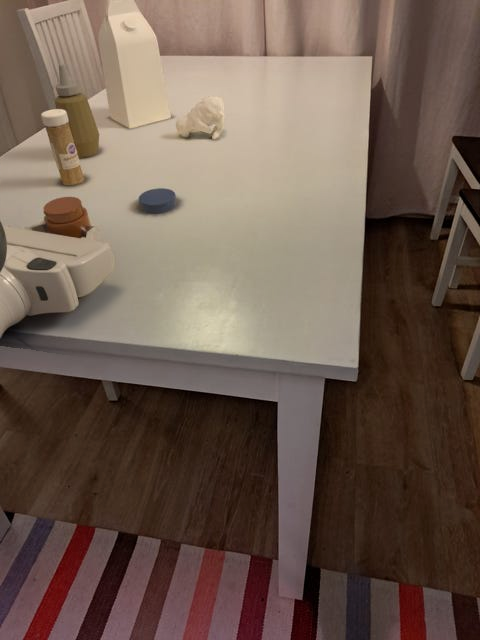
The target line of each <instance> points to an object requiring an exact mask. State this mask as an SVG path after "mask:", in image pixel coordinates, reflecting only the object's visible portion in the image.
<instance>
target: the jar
mask: <svg viewBox="0 0 480 640" xmlns="http://www.w3.org/2000/svg"><path fill="white" fill-rule="evenodd" d="M42 209H43V215H44V216H43V220H44V221H45V224H46V227H47V230H48V233H50V234H56V235H62V236H68V237H74V238H82V237H85V235H84V233H83V230H84V229H85V228H87V226H92V224H91V223H92V222H91V220H90V216H89V213H88V210H87V208H86V207H84V206H83V203H82V200H81V199H80V198H79V197H75V196H62V197H57V198H55V199H52V200H50V201H48V202H47V203H45V204H44V206H43V208H42Z"/></svg>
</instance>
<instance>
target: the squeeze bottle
mask: <svg viewBox="0 0 480 640" xmlns="http://www.w3.org/2000/svg"><path fill="white" fill-rule="evenodd" d="M58 74H59V83H58V84H55V90H56V94H57V95H58V96H56V97H55V100H54V105H55V109H63V110H65V111H66V113H67V116H68V120H69V121H68V122H69V127H70V130H71V134H72V137H73V141H74V144H75V148H76V150H77V154H78V158H79V159H84V158H89V157H93V156H95V155H97V154H98V152H99V145H100V133H99V129H98V127H97V123H96V120H95V118H94V114H93V112H92V108H91V106H90V103H89V100H88V97H87V95H85V94H84V93H82V92H81V88H80V84H79V83H78V82H76V81H74V80H73V79H72V77H71V75H70V72H69V70H68V69H67V67H66V64H58Z"/></svg>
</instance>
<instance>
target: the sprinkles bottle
mask: <svg viewBox="0 0 480 640" xmlns="http://www.w3.org/2000/svg"><path fill="white" fill-rule="evenodd" d="M40 118H41V121H42V124H43V126H44V128H45V130H46V133H47V138H48V142H49V144H50V149H51V152H52V155H53V157H54V161H55V164H56V167H57V169H58V173H59V176H60V179H61V183H62V185H64V186H67V187H68V186H76V185H80V184H81V183H83V182H84V181H85V175H84V174H83V170H82V166H81V162H80V158H78V154H77V150H76V148H75V144H74V141H73V137H72V134H71V130H70V127H69V122H68V121H69V120H68V116H67V113H66V111H65V110H63V109H56V108H53V109H49V110H45V111H43V112H42V113H41V114H40Z"/></svg>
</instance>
